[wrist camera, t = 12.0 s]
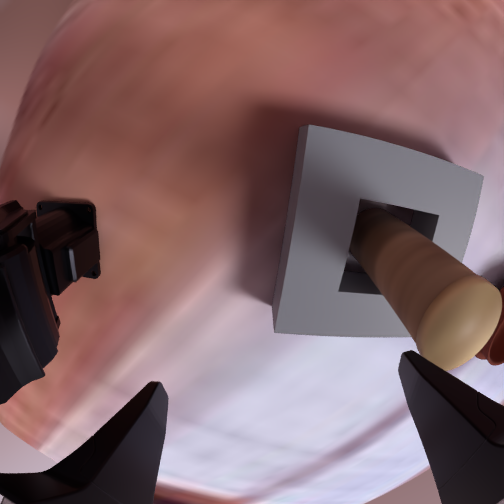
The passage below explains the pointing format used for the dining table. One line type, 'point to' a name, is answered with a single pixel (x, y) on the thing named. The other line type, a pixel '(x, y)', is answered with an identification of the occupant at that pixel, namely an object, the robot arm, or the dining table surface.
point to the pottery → (495, 341)
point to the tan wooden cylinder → (427, 288)
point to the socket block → (343, 221)
